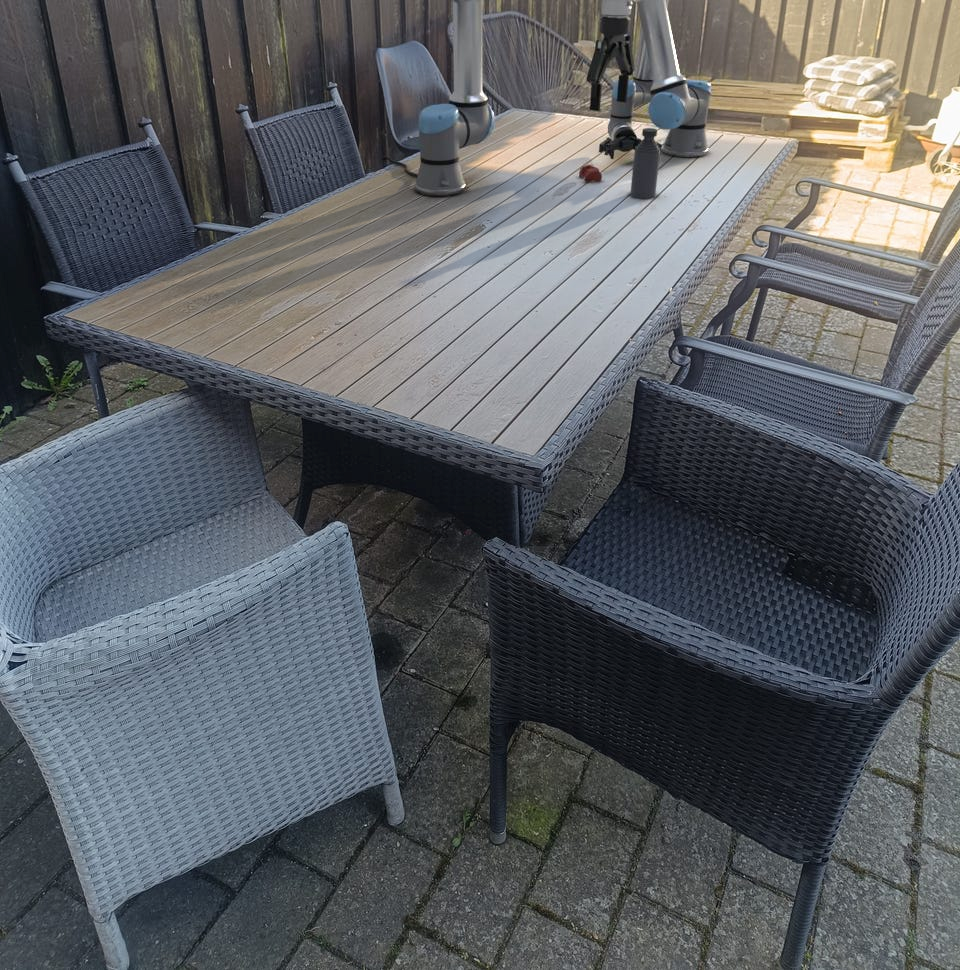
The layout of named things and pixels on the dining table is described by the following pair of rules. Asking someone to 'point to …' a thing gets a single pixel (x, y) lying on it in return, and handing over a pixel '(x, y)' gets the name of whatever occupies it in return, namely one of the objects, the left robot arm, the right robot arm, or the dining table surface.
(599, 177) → the dental model
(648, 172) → the bottle
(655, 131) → the cap
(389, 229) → the dining table surface
